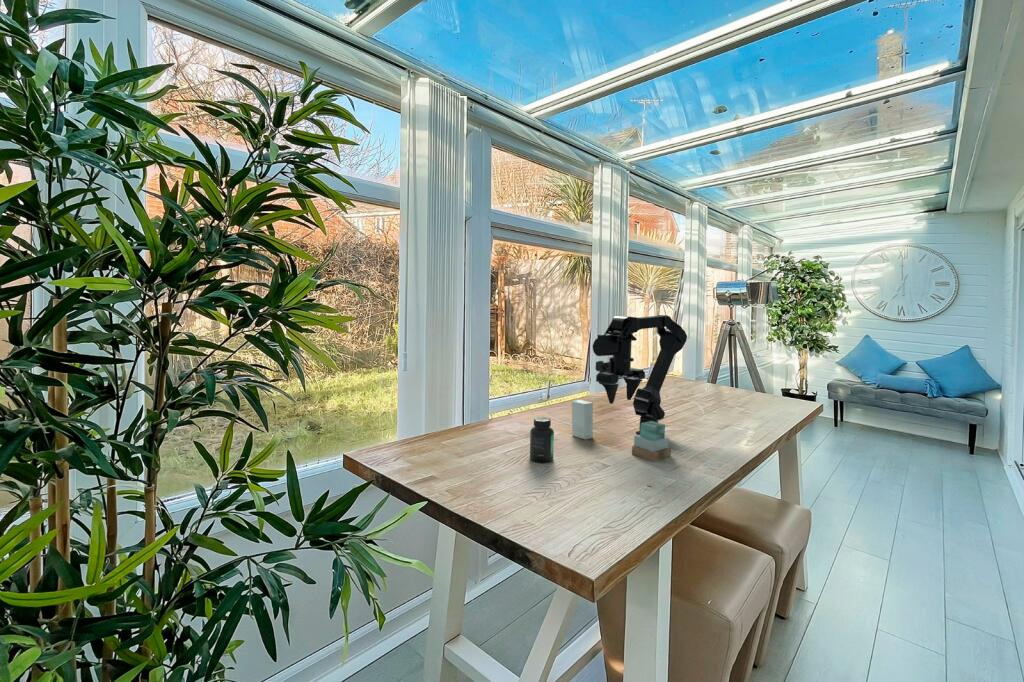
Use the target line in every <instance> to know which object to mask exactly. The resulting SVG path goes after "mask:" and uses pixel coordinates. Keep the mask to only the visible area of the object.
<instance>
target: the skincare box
mask: <svg viewBox="0 0 1024 682" xmlns="http://www.w3.org/2000/svg"><path fill="white" fill-rule="evenodd" d="M593 417H594V404H593V402H592V401H588V400H583V399H577V400H576V399H575V400H573V401H571V431H572V432H571V435H572V436H573V437H575V438H580V439H582V440H590V439H592V438H593V436H594V433H593V432H594V427H593V426H594V423H593V422H594V419H593Z"/></svg>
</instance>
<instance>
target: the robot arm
mask: <svg viewBox="0 0 1024 682" xmlns="http://www.w3.org/2000/svg"><path fill="white" fill-rule="evenodd" d="M654 328H656V333H657V334H658V336H659V337H660V338H659V347H660V351H659V353H658V356H657V357H656V359H655V362H654V365H653V368H652V369H651V372H650V374H649V377H648V380H647V382H646V383H645V386H644V387H643V388H639V386H640V384H641V383H642V382H643V379H646V372H645V371H644V370H643V369H640V368H632V367H631V365H632V364H631V363H632V362H634V358H633V357H632V342H633V341H637V338H636V336H635V335H634V333H637V332H639V331H640V330H645V329H654ZM687 339H688V335H687V333H686V331H685V330H684V329H683V327H682V326H681V324H680V325H679V324H678V323H677V322H676V321H674V320H673V319H672V317H671V316H669V315H665V314H657V315H653V316H652V315H651V316H641V317H637V316H629V315H628V316H626V315H615V316H613V318H612V320H611V322H610V324H609V325H608V327H607V329H606V330H605V332H604V333H603V334H597V338H595V340H594V341H593V344H592V351H593V353H594V354H595V356H597V357H605V356H606V357H607V356H608V357H609V356H610V357H609V360H608V361H607V362H604V361H603V360H598V361H596V362H595V370H596V372H598V373H597V374H596V376H595V379H596V380H595V381H596V382H597V383H598V384H600V385H602V386H603V388H604V390H605V392H606V396H607V399H608V403H609V404H611V405H613V404H614V403H615V398H616V395H617V392H618V387H619V383H618V382H619V380H622V379H623V380H624V382H625V385H626V386H625V389H626V399H627V400H628V401H630V400H632V399H633V402H632V405H633V410H634V412H635V415H636V416H640V418H639V427H638V428H639V430H638V431H635V434H636V435H640V428H641V423H644V422H649V421H653V422H657V423H659V421H661V420H663V419H664V418H665V415H666V413H665V411H664V409H663V408H662V407H661V406H660V405H661V402H662V398H661V389H662V387H663V385H664V382H665V379H666V377H667V375H668V372H669V369H670V367H671V365H672V362H673V359H674V357H675V355H676V354H677V353H678V352H680V351H682V349H683V347H684V345H685V344H686V342H687ZM634 394H635V395H634ZM632 397H633V398H632Z"/></svg>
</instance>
